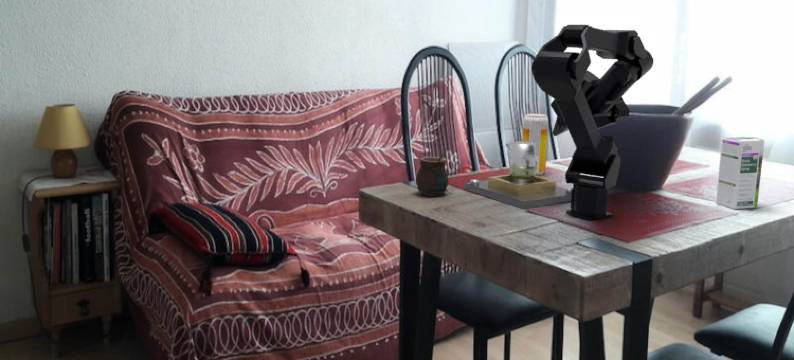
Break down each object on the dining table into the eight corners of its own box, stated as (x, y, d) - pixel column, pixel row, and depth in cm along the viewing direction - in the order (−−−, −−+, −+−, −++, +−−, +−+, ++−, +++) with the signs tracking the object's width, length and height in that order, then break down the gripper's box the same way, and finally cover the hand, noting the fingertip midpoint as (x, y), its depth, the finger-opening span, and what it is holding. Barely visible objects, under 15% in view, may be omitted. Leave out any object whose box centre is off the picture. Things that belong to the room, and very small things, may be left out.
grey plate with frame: (580, 199, 149) (581, 183, 149) (523, 208, 141) (524, 192, 140) (518, 182, 166) (519, 167, 165) (465, 189, 158) (465, 174, 157)
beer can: (543, 171, 179) (547, 113, 176) (546, 176, 173) (549, 116, 170) (520, 170, 179) (522, 113, 176) (521, 175, 173) (524, 116, 170)
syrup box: (734, 210, 142) (742, 140, 139) (714, 203, 147) (721, 135, 144) (757, 208, 143) (766, 139, 140) (736, 201, 149) (744, 135, 146)
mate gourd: (430, 188, 159) (432, 145, 156) (455, 194, 153) (457, 150, 151) (408, 193, 154) (410, 149, 151) (433, 200, 148) (435, 154, 146)
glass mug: (539, 189, 152) (542, 144, 150) (520, 191, 150) (522, 146, 147) (514, 181, 160) (516, 138, 157) (495, 184, 157) (496, 140, 155)
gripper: (623, 56, 150) (582, 102, 161) (559, 58, 140) (521, 106, 152) (650, 96, 145) (605, 141, 156) (586, 100, 135) (544, 147, 147)
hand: (569, 133), depth 153 cm, fingers open, 9 cm apart
